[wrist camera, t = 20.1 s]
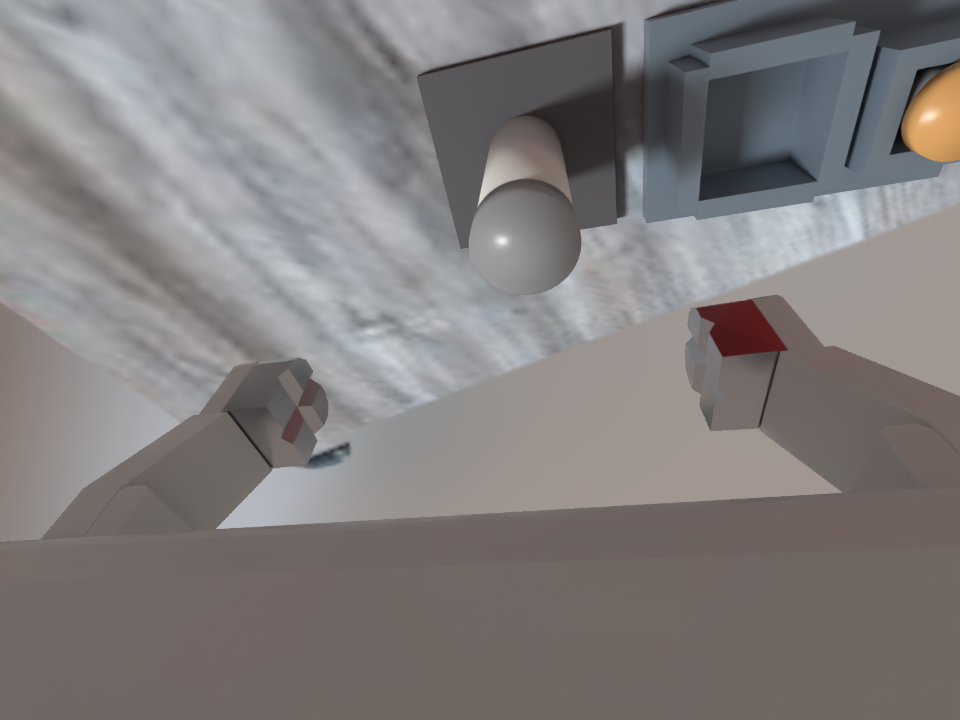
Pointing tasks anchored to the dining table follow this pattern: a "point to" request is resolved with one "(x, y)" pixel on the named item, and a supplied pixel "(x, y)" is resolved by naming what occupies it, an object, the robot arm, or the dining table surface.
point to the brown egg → (934, 113)
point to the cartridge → (525, 211)
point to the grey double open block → (784, 100)
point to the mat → (528, 92)
